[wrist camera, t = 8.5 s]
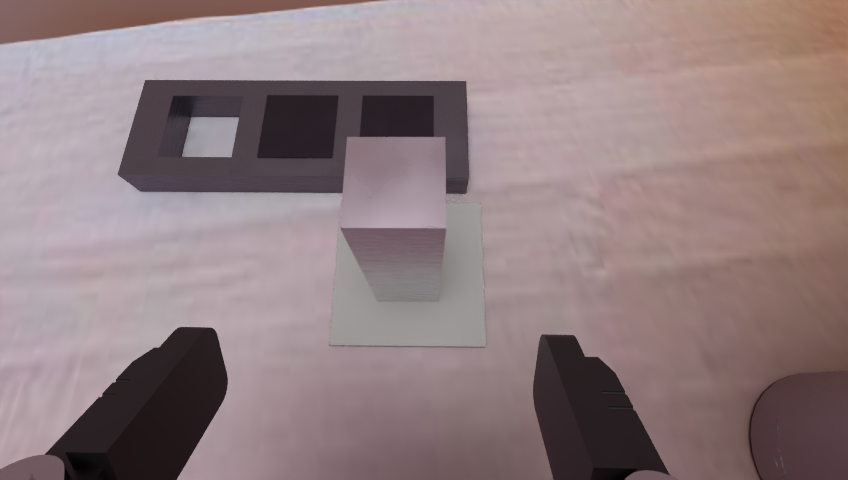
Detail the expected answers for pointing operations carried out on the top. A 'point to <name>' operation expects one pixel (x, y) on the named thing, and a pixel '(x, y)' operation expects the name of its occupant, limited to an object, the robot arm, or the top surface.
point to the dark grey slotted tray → (287, 131)
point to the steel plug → (396, 214)
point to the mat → (417, 321)
